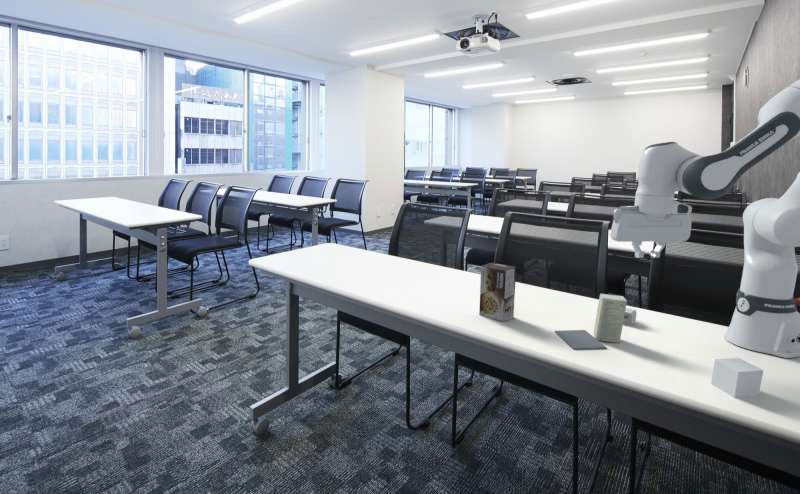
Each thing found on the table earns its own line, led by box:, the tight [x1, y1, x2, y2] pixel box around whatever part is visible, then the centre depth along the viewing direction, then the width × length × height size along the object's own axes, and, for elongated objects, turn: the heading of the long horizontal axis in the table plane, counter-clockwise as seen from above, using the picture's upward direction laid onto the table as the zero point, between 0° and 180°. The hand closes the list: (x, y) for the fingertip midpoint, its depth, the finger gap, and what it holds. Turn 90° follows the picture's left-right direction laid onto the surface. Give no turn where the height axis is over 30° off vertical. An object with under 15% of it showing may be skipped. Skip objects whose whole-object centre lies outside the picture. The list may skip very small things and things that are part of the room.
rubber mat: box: [554, 329, 608, 351], centre depth 125 cm, size 9×12×1 cm
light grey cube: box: [710, 357, 764, 399], centre depth 98 cm, size 6×6×6 cm
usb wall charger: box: [623, 307, 638, 327], centre depth 139 cm, size 4×7×4 cm, turn 139°
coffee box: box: [478, 262, 517, 322], centre depth 141 cm, size 9×6×16 cm
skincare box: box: [593, 293, 628, 344], centre depth 124 cm, size 6×4×12 cm
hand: (646, 257), depth 121 cm, fingers open, 3 cm apart
